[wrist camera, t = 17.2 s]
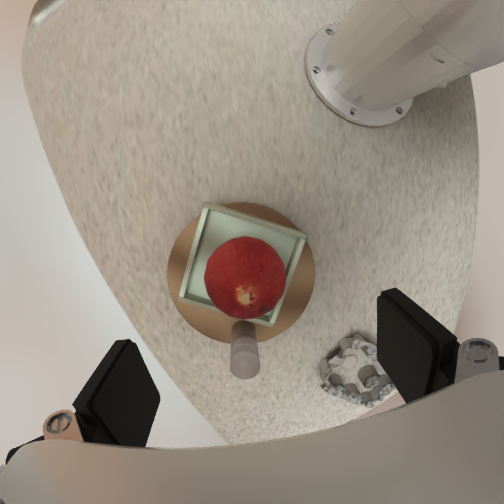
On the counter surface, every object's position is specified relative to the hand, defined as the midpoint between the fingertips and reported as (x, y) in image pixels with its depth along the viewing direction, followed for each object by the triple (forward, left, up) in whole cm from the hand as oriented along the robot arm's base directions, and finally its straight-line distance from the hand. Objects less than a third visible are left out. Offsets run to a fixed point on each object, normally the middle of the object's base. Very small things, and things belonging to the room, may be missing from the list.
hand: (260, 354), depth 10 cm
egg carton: (-11, +17, -19) cm, 27 cm away
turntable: (+1, +2, -17) cm, 17 cm away
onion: (0, 0, -15) cm, 15 cm away
